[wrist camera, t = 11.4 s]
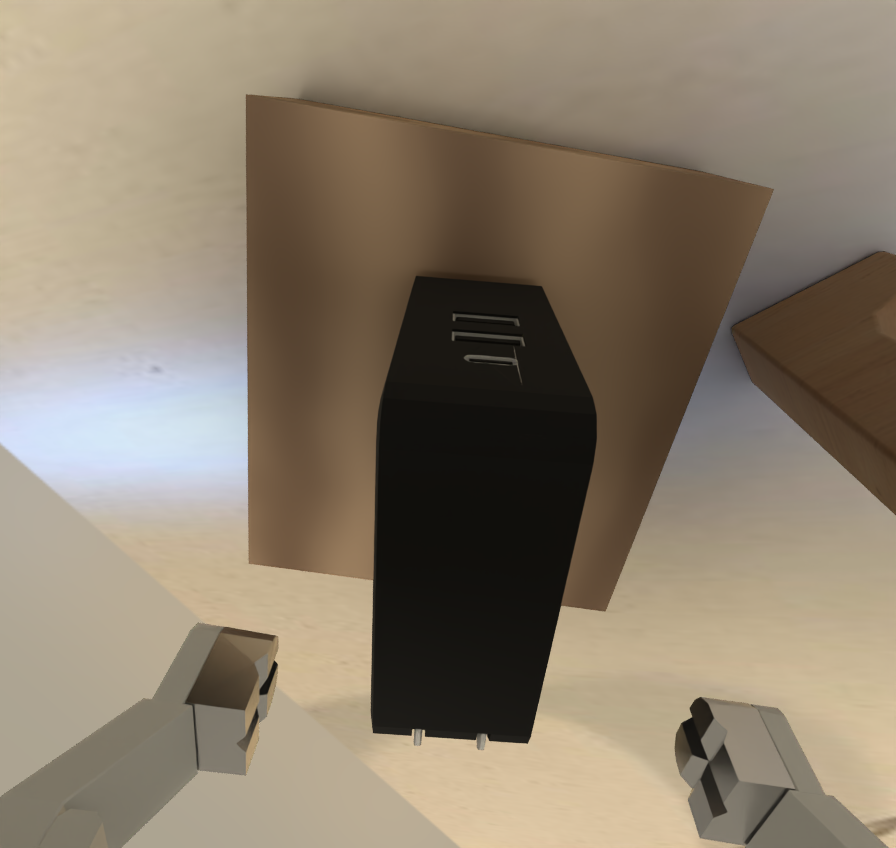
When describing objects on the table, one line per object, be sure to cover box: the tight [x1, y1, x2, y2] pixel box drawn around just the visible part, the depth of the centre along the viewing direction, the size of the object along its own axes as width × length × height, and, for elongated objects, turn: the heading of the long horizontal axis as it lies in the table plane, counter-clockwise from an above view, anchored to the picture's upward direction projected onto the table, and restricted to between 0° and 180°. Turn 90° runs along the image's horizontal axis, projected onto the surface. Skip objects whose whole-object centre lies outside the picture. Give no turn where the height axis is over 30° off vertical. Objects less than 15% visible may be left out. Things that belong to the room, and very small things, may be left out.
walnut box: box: [246, 95, 774, 611], centre depth 24 cm, size 16×18×6 cm
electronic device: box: [371, 276, 597, 750], centre depth 17 cm, size 4×10×10 cm, turn 176°
